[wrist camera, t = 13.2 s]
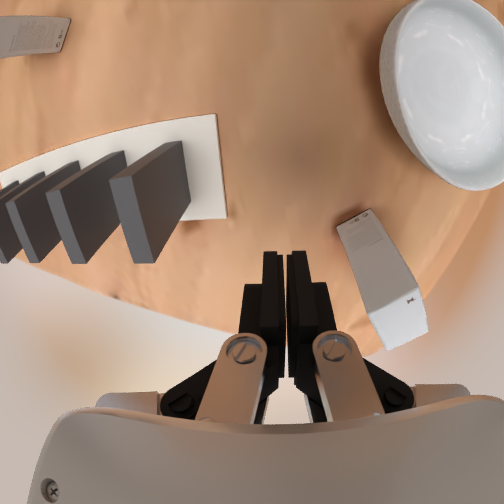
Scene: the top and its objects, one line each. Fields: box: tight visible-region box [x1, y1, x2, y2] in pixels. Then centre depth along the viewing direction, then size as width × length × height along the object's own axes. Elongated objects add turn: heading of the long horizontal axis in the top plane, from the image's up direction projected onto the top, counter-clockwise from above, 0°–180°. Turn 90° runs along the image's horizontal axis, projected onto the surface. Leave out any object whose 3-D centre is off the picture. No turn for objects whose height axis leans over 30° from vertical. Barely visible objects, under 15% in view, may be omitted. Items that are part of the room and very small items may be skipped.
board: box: [0, 114, 227, 225], centre depth 25 cm, size 32×10×1 cm, turn 94°
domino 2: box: [5, 160, 81, 263], centre depth 21 cm, size 2×6×10 cm, turn 5°
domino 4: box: [109, 140, 191, 263], centre depth 20 cm, size 2×6×10 cm, turn 4°
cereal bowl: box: [379, 0, 504, 191], centre depth 14 cm, size 17×17×7 cm
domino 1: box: [0, 171, 46, 263], centre depth 21 cm, size 2×6×10 cm, turn 3°
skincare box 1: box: [0, 16, 71, 59], centre depth 10 cm, size 6×4×12 cm
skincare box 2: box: [337, 209, 429, 351], centre depth 22 cm, size 6×4×12 cm
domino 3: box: [45, 150, 127, 264], centre depth 20 cm, size 2×6×10 cm, turn 4°
